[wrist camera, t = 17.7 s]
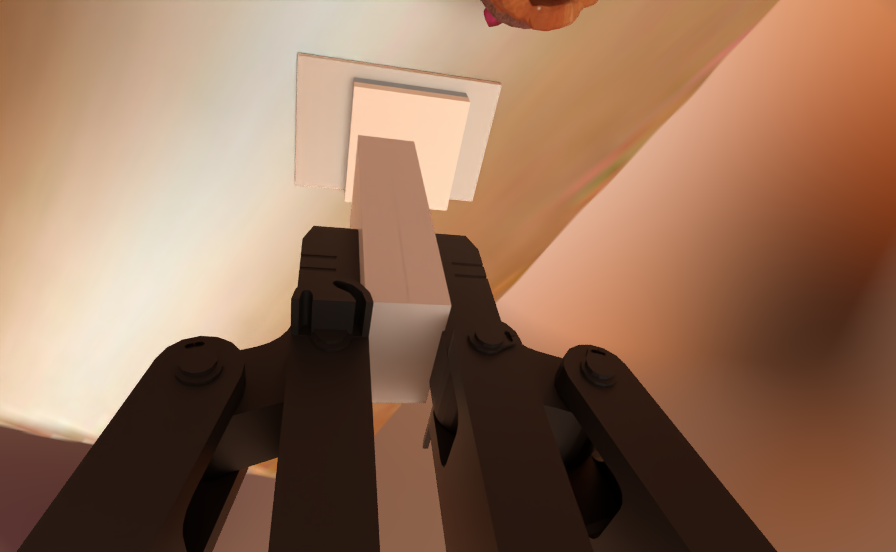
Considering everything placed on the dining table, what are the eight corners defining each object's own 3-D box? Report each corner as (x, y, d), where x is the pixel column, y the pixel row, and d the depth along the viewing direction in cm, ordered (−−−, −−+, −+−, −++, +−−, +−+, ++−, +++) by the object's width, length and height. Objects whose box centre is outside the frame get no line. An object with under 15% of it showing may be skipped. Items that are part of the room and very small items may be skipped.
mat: (298, 52, 40) (297, 55, 39) (499, 82, 44) (501, 85, 43) (295, 181, 47) (295, 185, 46) (471, 198, 50) (472, 201, 50)
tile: (354, 86, 39) (470, 102, 42) (353, 77, 41) (466, 92, 43) (344, 201, 46) (446, 210, 48) (344, 189, 47) (443, 198, 49)
